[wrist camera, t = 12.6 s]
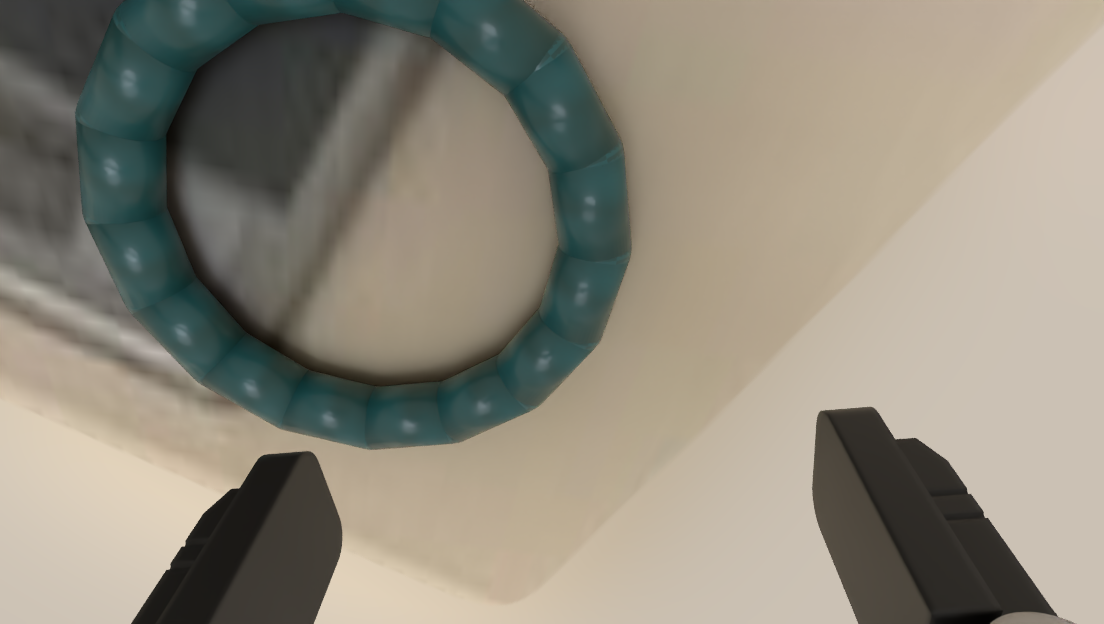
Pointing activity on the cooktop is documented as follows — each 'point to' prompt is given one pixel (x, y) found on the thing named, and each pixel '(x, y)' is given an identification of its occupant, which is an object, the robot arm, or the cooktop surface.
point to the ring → (260, 371)
